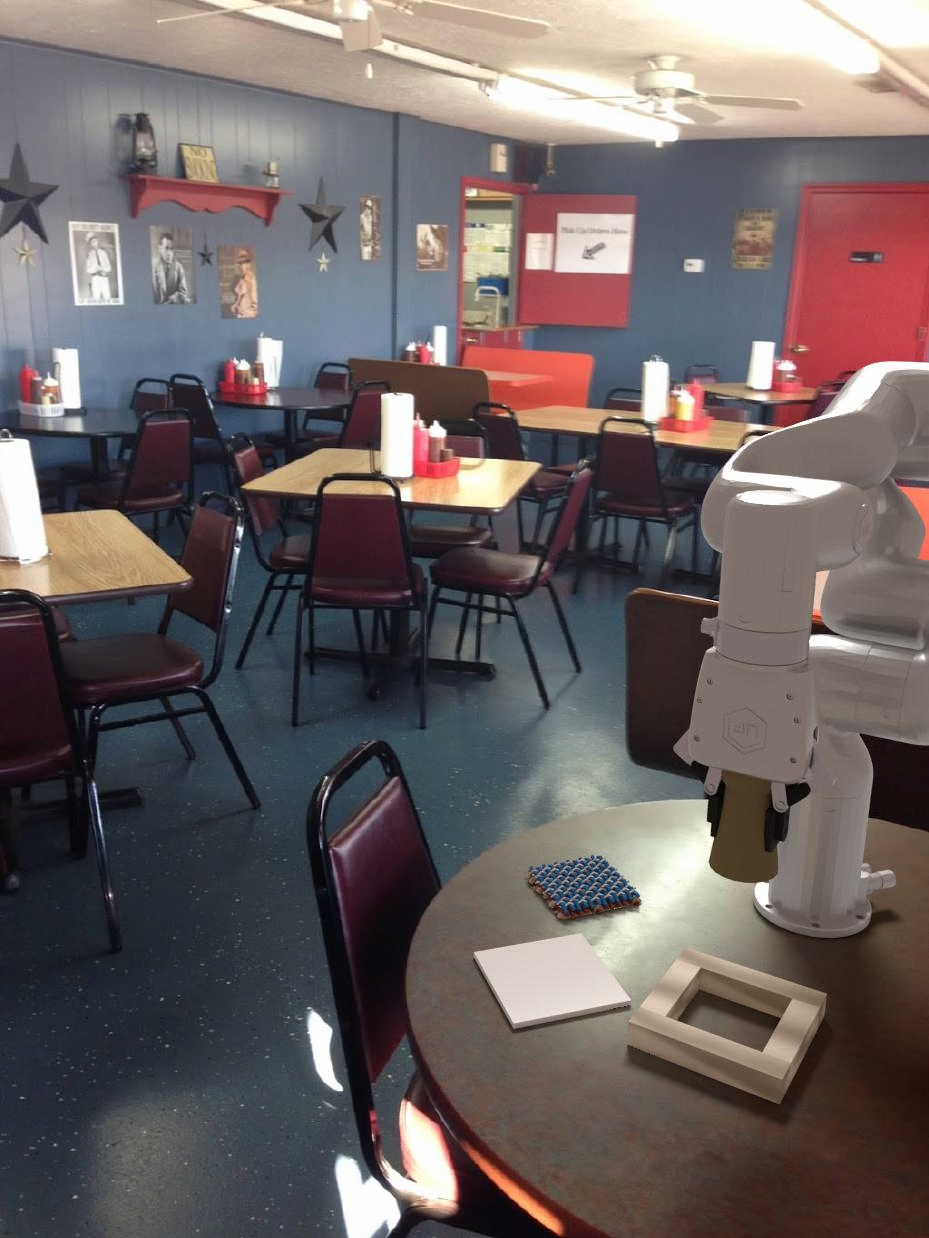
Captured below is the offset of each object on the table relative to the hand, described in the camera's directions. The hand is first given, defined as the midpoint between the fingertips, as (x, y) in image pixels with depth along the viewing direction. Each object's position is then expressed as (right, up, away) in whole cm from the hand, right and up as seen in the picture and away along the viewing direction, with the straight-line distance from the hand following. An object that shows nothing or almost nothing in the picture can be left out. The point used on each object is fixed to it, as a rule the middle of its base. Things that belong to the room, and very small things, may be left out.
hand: (745, 836), depth 95 cm
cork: (0, -3, +1) cm, 3 cm away
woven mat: (-11, -13, +29) cm, 34 cm away
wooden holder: (0, -19, +5) cm, 20 cm away
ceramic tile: (-16, -17, +13) cm, 27 cm away
